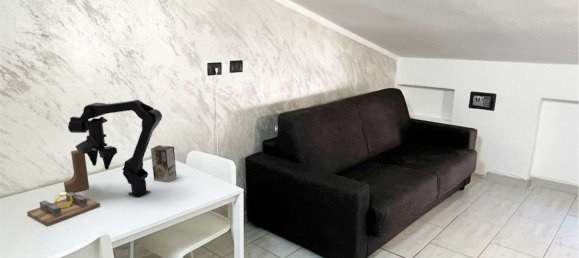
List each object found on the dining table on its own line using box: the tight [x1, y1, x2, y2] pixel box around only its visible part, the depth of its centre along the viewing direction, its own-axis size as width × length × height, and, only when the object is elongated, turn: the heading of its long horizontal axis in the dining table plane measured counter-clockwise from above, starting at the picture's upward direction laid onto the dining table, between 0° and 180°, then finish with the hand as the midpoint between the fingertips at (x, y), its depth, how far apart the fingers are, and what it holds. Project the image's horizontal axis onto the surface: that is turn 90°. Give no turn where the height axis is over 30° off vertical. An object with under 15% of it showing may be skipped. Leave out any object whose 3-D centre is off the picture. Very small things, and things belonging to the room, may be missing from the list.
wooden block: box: [63, 149, 90, 193], centre depth 169 cm, size 9×4×18 cm, turn 133°
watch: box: [54, 191, 73, 209], centre depth 150 cm, size 6×3×6 cm, turn 139°
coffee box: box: [150, 144, 177, 183], centre depth 183 cm, size 9×6×16 cm
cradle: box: [26, 192, 101, 227], centre depth 151 cm, size 16×20×4 cm
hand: (100, 167), depth 166 cm, fingers open, 9 cm apart
